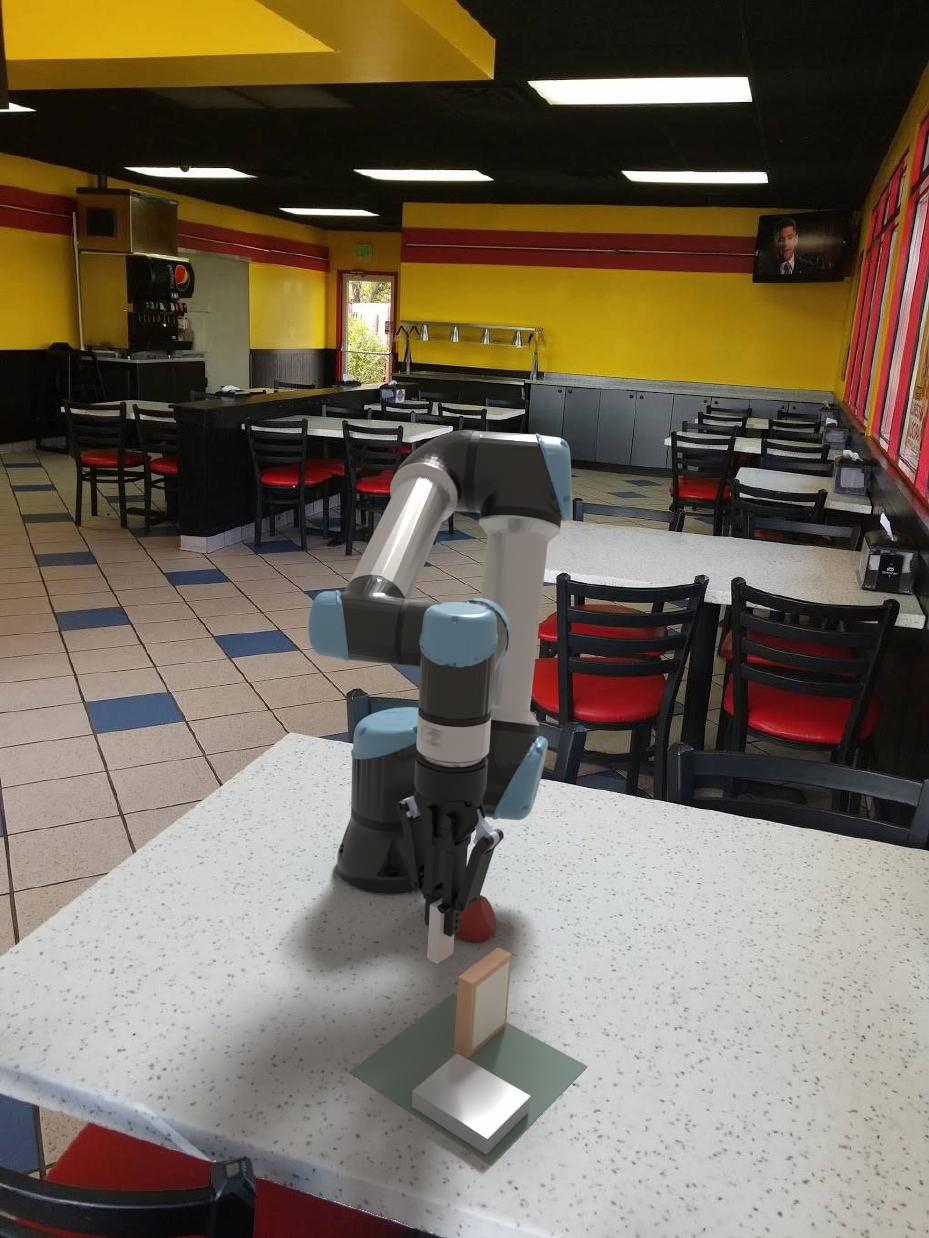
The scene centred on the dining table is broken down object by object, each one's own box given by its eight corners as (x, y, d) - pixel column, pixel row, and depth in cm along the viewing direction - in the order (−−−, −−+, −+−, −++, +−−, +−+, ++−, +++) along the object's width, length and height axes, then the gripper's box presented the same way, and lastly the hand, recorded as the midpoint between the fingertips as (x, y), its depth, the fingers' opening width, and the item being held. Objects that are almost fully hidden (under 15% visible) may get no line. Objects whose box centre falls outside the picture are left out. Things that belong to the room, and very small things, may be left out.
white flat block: (412, 1090, 92) (487, 1138, 87) (457, 1053, 98) (530, 1096, 93) (411, 1107, 93) (486, 1156, 88) (456, 1069, 98) (528, 1112, 93)
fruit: (462, 934, 127) (435, 883, 125) (501, 919, 125) (474, 868, 124) (456, 961, 121) (427, 909, 119) (497, 946, 119) (468, 893, 118)
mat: (348, 1076, 97) (348, 1071, 97) (452, 997, 110) (452, 992, 110) (491, 1170, 87) (491, 1165, 87) (587, 1070, 100) (587, 1066, 100)
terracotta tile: (453, 1050, 101) (458, 976, 99) (492, 1018, 106) (498, 947, 104) (468, 1059, 100) (473, 984, 98) (507, 1026, 105) (512, 954, 103)
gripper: (380, 746, 100) (372, 946, 105) (480, 782, 92) (466, 996, 98) (426, 728, 106) (417, 919, 111) (524, 761, 98) (508, 964, 104)
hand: (440, 955), depth 104 cm, fingers closed
